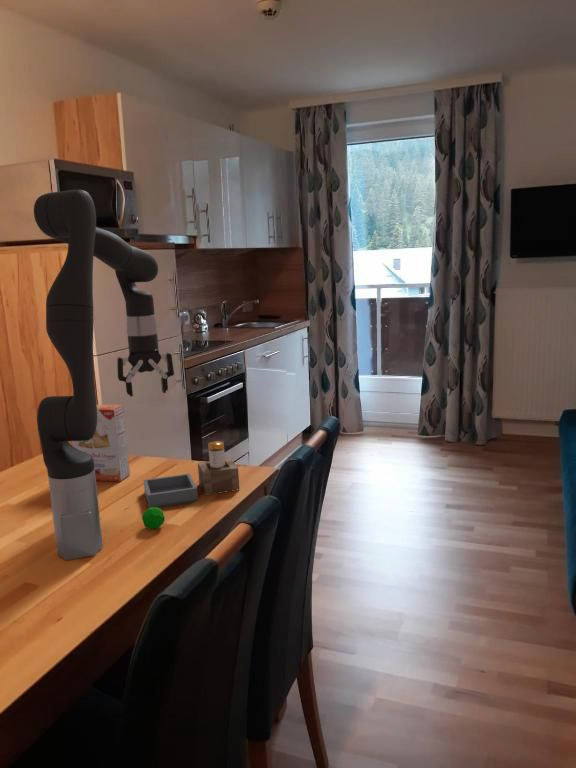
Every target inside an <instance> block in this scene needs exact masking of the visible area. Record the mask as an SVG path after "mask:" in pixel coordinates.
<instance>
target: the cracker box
mask: <svg viewBox="0 0 576 768" xmlns="http://www.w3.org/2000/svg"><path fill="white" fill-rule="evenodd" d="M71 443H72V444H71V445H72V446H73V447H74V448H76V449H78V450H80V451H83V452H86V453H88V454H90V455H91V456H92V457H93V460H94V469H95V478H96V481H101V482H119V483H121V482H122V481H124V480H125V479H127V478H128V477H129V476H130V471H131V470H130V462H129V450H128V449H129V448H128V440H127V430H126V422H125V410H124V405H123V404H97V427H96V431H95V434H94V436H93V437H92V438H91V439H90V440H86V441H71Z"/></svg>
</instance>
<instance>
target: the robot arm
mask: <svg viewBox="0 0 576 768" xmlns="http://www.w3.org/2000/svg"><path fill="white" fill-rule="evenodd" d="M95 206H96V205H95V203H94V200H93V198H92V196H91V195H90V194H89V192H88V191H85V190H83V189H71V190H70V189H69V190H63V191H54V192H48V193H44V194H42V195H40V196H38V197H37V198H36V200H35V202H34V205H33V217H34V221H35V223H36V225H37V226H38V228H39V230H40V231H41V232H42V233H43V234H44V235H46V236H47V237H49V238H51V239H53V240H56V241H60V242H63V243H64V244H68V245H67V254H66V257H65V260H64V263H63V265H62V266H61V268H60V271H59V272H58V274H57V276H56V278H55V279H54V281H53V282H52V284H51V287H50V289H49V291H48V292H47V296H46V298H45V300H46V301H45V326H46V327H45V328H46V333H47V336H48V338H49V340H50V342H51V343H52V345H53V348H54V349H55V350H56V351H57V353H58V354H59V356H60V358H61V359H62V360H63V362H64V363H65V365H66V368H67V370H68V372H69V374H70V378H71V383H72V391H73V394H72V395H57V396H55V395H53V396H52V395H51V396H46V397H44V398H42V400H41V401H40V402H39V404H38V406H37V407H38V408H37V412H36V422H37V423H36V424H37V425H36V426H37V431H38V436H39V442H40V446H41V453H42V459H43V463H44V465H45V468H46V470H47V471H46V472H47V476H48V485H49V495H50V503H51V513H52V519H53V529H54V535H55V542H56V549H57V555H58V556H59V557H61V558H63V559H64V561H68V560H69V561H70V560H73V559H74V560H75V559H82V558H86V557H92V556H96V555H97V553H98V552H99V551H100V550H101V549H102V548H103V534H102V526H101V525H102V524H101V517H100V507H99V506H100V505H99V497H98V488H97V480H96V478H95V469H94V460H93V457H92V456H91V455H90V454H88V453H86V452H83V451H80V450H78V449H76V448H74V447H73V445H72V444H71V443H69V442H72V441H86V440H90V439H91V438H92V437H93V436H94V434H95V431H96V427H97V405H98V404H97V393H96V384H95V383H96V382H95V371H94V294H93V293H94V292H93V289H94V288H93V287H94V283H93V277H94V275H93V273H94V272H93V271H94V258H96V259H98V260H99V261H101V262H102V263H104V264H105V265H106V266H108V267H110V268H111V269H113V270H114V273H115V275H116V278H117V281H118V284H119V287H120V291H121V292H122V295H123V298H124V302H125V313H126V334H127V344H128V356H127V357H122V356H117V358H116V360H117V361H116V364H117V365H116V367H117V379H118V381H120V382H123V383H125V390H126V391H125V392H126V393H127V395H129V397H133V396H134V393H133V385H132V380H133V379H134V377H135V375H136V374H137V373H145V372H149V373H150V372H151V373H152V372H153V371H156V372H157V373H158V374H159V375H160V376H161V378H160V384H161V392H162V394H165V393H167V391H168V390H169V385H168V384H169V383H168V378H170V377H172V376H174V375H175V372H174V371H175V370H174V363H173V357H172V354H171V353H170V352H166V353H162V354H161V353H160V351H159V340H158V339H159V338H158V337H159V336H158V326H157V320H156V315H155V305H154V304H155V303H154V302H155V301H154V297H153V294H152V293H151V292H149V291H145V290H142V289H139V288H138V286H137V283H148V282H151V281H153V280H154V279H156V277H157V276H158V273H159V265H158V263H157V261H156V259H155V257H154V256H153V255H152V254H151V253H149V252H148V251H147V250H143V249H141V248H138V247H136V246H133V245H130V244H129V243H128V242H126V241H125V240H124V239H123V238H121V237H120V236H118V235H117V234H115V233H113V232H112V231H108V230H106V229H103V228H100V227H98V226H97V212H96V207H95ZM161 360H163V361H164V362H165V363H166V367H167V371H166V372H164V370H163V369H162V367H160V366H159V363H160V362H161ZM127 363H129V364H130V365H131V368H130V369H129V371H128V373H127V375H124V367H125V366H126V365H127Z"/></svg>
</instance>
